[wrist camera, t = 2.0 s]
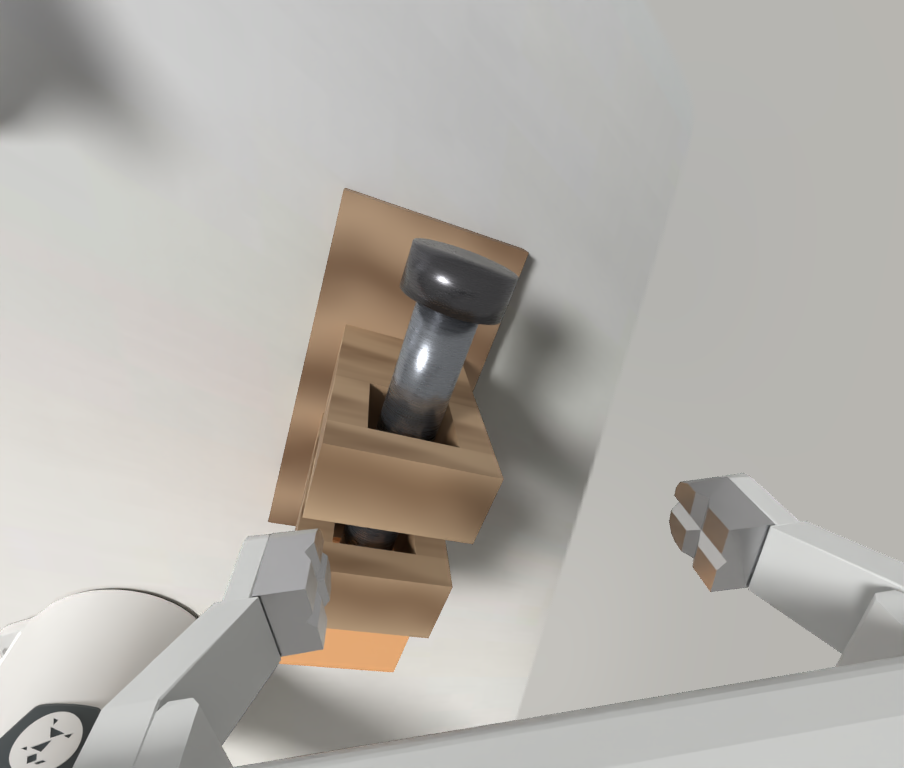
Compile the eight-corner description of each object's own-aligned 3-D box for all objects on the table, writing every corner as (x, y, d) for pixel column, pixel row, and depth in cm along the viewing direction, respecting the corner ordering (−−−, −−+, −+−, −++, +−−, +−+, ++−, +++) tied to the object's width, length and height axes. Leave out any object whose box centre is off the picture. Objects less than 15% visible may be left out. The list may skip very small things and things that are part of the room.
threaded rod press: (411, 533, 42) (424, 715, 29) (271, 511, 39) (213, 704, 25) (523, 249, 31) (626, 328, 18) (345, 187, 28) (312, 229, 15)
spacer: (391, 576, 34) (393, 672, 28) (293, 564, 33) (272, 663, 26) (406, 536, 33) (412, 628, 27) (304, 521, 31) (285, 615, 25)
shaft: (370, 610, 33) (369, 679, 29) (301, 603, 32) (288, 673, 28) (504, 262, 23) (532, 290, 19) (410, 231, 22) (416, 253, 17)
